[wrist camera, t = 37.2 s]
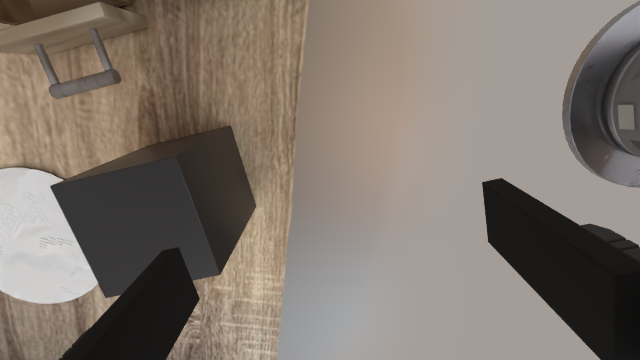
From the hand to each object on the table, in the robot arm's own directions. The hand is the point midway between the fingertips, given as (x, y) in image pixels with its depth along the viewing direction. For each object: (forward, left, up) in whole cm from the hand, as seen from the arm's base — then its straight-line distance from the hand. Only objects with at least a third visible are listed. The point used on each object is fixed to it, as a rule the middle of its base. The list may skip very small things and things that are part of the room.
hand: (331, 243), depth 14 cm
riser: (+17, +2, -29) cm, 33 cm away
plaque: (+42, +5, -29) cm, 51 cm away
